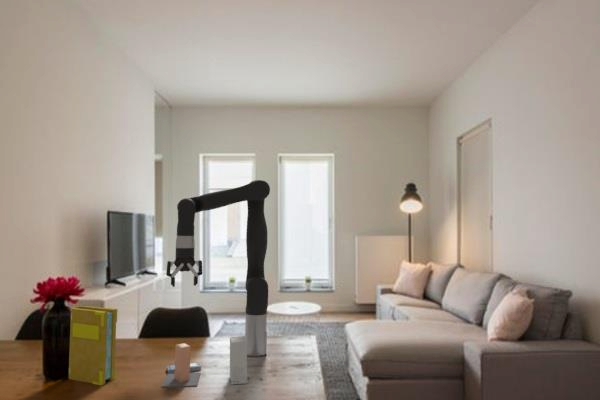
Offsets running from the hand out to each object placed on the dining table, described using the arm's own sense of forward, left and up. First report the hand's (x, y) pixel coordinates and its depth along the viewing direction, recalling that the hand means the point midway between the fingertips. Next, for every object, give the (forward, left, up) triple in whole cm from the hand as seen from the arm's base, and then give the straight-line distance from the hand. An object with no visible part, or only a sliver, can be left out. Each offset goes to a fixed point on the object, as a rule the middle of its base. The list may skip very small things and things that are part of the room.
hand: (184, 286), depth 178 cm
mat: (-3, +23, -30) cm, 38 cm away
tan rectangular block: (-3, +22, -30) cm, 37 cm away
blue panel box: (-2, +12, -30) cm, 32 cm away
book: (+30, +18, -30) cm, 46 cm away
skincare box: (-23, +24, -30) cm, 45 cm away
